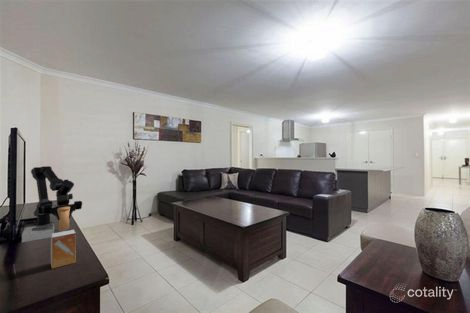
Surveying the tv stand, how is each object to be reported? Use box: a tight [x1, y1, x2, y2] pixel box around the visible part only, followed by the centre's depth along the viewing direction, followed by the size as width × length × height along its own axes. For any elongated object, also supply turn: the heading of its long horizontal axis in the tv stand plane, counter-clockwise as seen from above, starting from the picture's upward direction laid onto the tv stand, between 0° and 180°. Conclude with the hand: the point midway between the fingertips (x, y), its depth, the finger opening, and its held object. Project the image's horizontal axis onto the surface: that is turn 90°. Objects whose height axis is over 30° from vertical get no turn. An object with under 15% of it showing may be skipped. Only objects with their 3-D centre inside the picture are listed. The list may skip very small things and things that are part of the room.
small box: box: [50, 229, 77, 270], centre depth 94 cm, size 8×6×13 cm
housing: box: [21, 223, 55, 243], centre depth 126 cm, size 13×13×4 cm
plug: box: [57, 207, 70, 232], centre depth 131 cm, size 6×6×13 cm
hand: (64, 218), depth 130 cm, fingers closed on plug, 5 cm apart
